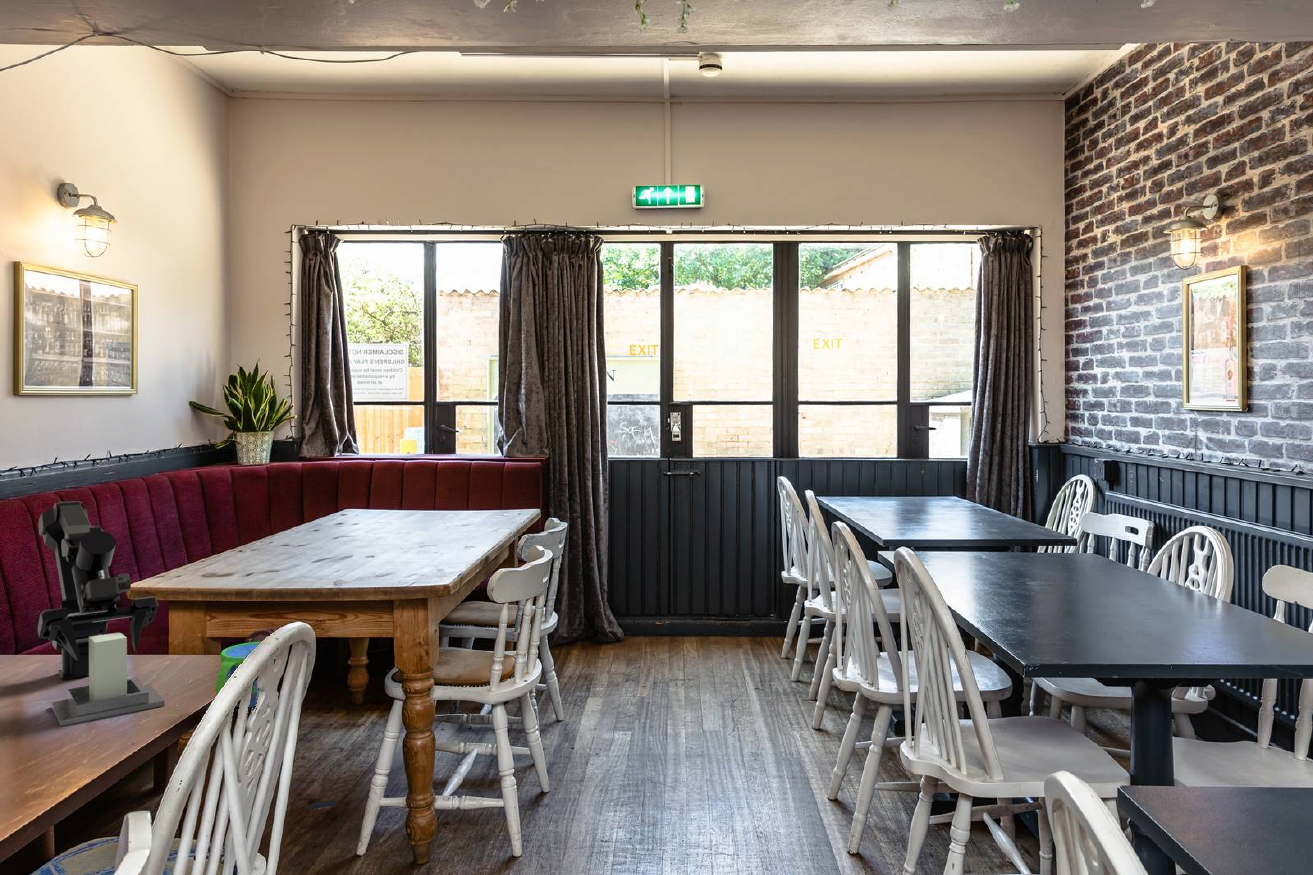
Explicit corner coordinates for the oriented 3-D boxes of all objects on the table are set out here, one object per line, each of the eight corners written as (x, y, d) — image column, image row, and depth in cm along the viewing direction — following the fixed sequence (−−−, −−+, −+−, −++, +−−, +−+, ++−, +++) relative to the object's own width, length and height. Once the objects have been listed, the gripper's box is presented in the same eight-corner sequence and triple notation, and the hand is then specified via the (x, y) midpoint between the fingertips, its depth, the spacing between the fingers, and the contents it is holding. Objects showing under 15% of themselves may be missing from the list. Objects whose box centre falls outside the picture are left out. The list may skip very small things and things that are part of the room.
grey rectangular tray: (51, 707, 157) (50, 691, 157) (150, 689, 168) (150, 674, 167) (60, 726, 148) (60, 709, 148) (164, 705, 159) (164, 689, 159)
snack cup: (238, 720, 152) (238, 663, 152) (195, 711, 156) (195, 656, 156) (304, 693, 167) (304, 642, 166) (264, 686, 171) (264, 636, 170)
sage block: (89, 701, 158) (88, 636, 157) (120, 694, 161) (119, 632, 161) (95, 708, 154) (95, 642, 154) (127, 701, 158) (126, 637, 157)
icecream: (276, 639, 182) (290, 627, 196) (240, 632, 180) (257, 621, 195) (267, 672, 181) (282, 657, 195) (230, 664, 179) (248, 651, 194)
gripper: (40, 566, 154) (53, 639, 147) (155, 555, 167) (173, 621, 160) (32, 602, 160) (44, 674, 152) (144, 588, 173) (160, 654, 166)
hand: (107, 654), depth 157 cm, fingers open, 9 cm apart
